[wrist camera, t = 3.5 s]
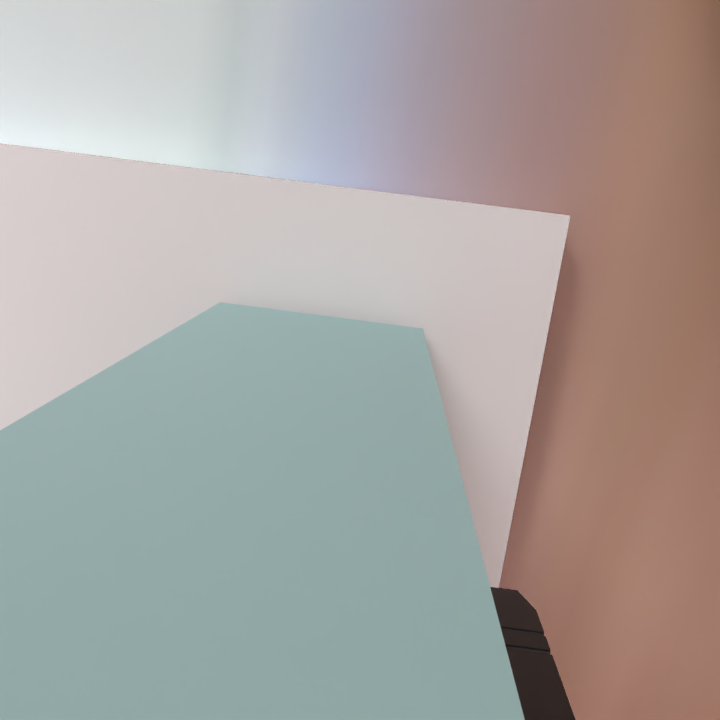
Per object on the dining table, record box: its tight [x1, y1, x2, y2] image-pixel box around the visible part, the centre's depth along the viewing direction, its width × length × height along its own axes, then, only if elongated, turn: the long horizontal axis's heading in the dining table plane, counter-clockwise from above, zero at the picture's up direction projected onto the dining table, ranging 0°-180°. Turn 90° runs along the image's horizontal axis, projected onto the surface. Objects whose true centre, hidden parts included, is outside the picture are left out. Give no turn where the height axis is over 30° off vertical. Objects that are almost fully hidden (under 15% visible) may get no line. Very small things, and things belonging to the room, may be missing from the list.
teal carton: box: [0, 302, 525, 720], centre depth 10 cm, size 5×8×12 cm, turn 173°
